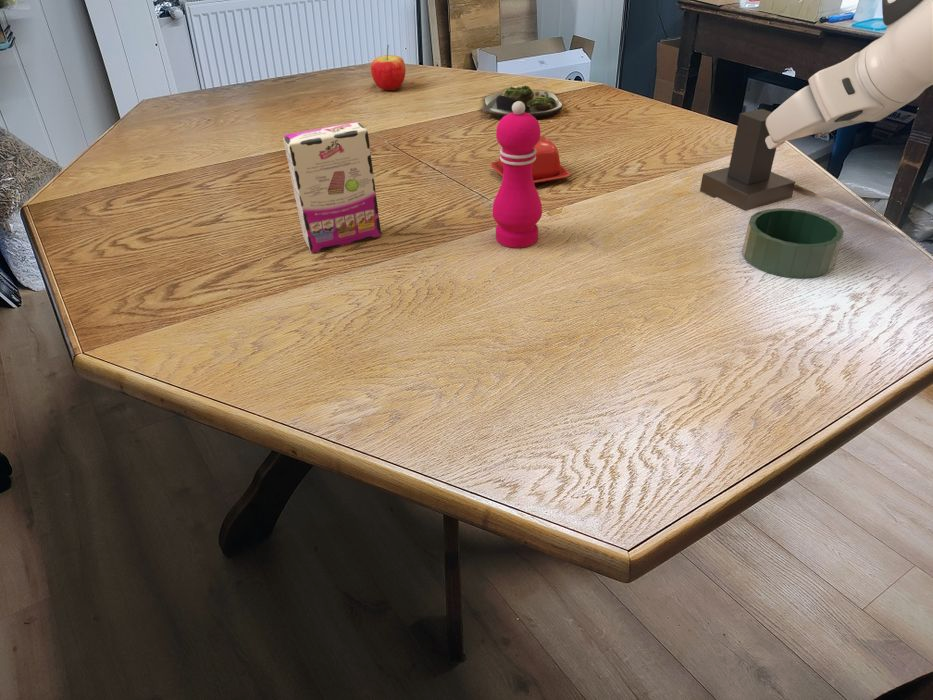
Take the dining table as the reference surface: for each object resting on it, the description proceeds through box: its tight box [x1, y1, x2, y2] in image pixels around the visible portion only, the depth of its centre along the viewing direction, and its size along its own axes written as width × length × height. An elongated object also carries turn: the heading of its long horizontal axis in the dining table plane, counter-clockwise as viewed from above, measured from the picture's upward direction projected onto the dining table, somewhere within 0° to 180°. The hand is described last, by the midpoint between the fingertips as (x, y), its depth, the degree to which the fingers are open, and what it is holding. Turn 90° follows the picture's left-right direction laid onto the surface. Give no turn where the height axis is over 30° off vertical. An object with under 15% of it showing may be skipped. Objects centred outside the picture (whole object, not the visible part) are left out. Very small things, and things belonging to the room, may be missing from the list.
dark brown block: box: [728, 108, 778, 185], centre depth 107 cm, size 4×4×10 cm
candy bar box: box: [282, 121, 382, 254], centre depth 99 cm, size 11×5×16 cm, turn 115°
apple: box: [370, 44, 406, 91], centre depth 166 cm, size 8×8×10 cm
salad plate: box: [481, 84, 563, 121], centre depth 152 cm, size 19×18×5 cm
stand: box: [699, 166, 796, 212], centre depth 111 cm, size 10×10×3 cm
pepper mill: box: [491, 101, 543, 249], centre depth 96 cm, size 7×7×20 cm
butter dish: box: [490, 134, 571, 184], centre depth 119 cm, size 12×12×8 cm
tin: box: [741, 207, 844, 280], centre depth 93 cm, size 12×12×5 cm
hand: (794, 137), depth 100 cm, fingers open, 8 cm apart
